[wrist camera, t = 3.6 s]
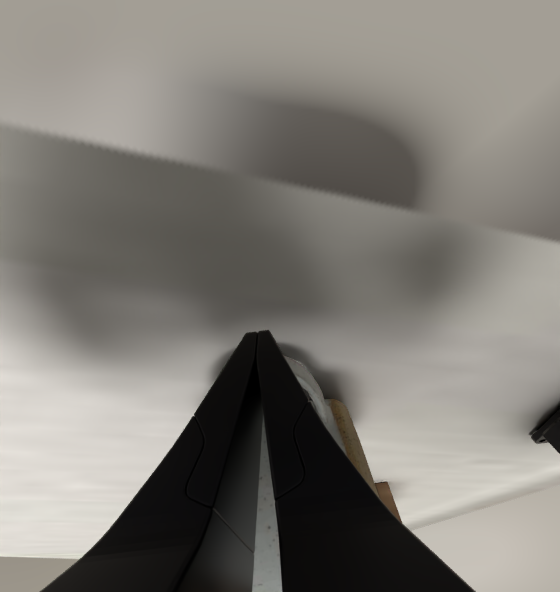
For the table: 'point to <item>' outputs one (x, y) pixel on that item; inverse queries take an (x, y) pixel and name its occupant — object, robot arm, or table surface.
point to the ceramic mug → (266, 539)
